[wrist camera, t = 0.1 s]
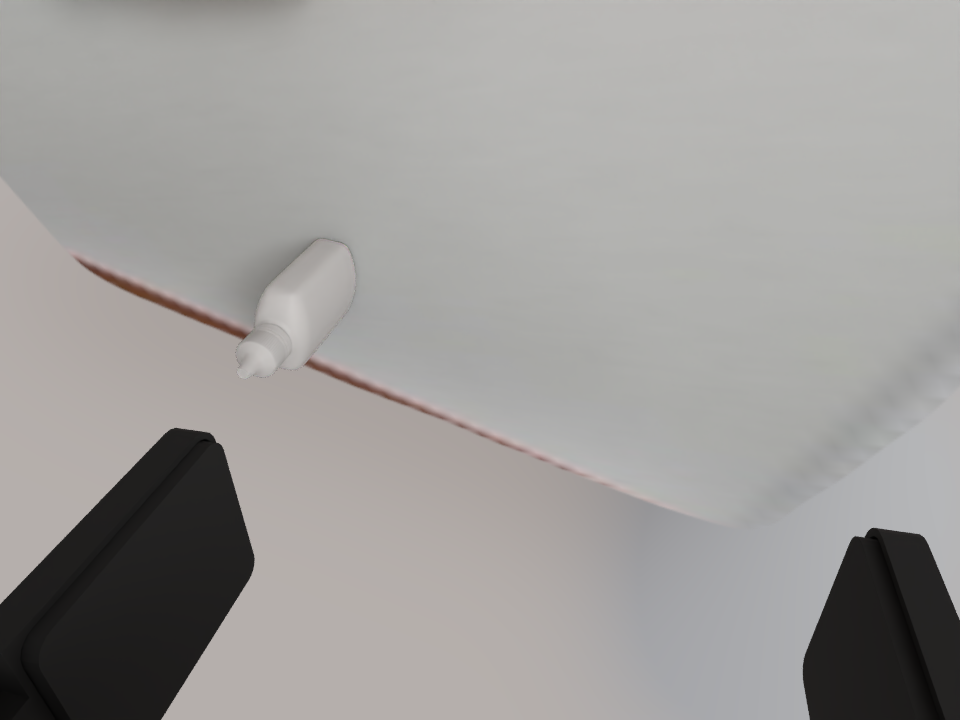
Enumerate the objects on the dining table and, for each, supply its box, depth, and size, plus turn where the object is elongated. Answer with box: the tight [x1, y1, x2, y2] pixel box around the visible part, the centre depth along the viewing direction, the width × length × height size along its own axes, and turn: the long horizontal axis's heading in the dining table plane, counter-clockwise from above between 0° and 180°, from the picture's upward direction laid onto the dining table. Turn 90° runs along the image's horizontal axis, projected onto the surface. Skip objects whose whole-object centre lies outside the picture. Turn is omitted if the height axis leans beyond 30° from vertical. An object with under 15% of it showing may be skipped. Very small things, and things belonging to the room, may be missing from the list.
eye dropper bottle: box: [236, 239, 356, 379], centre depth 41 cm, size 4×6×12 cm
